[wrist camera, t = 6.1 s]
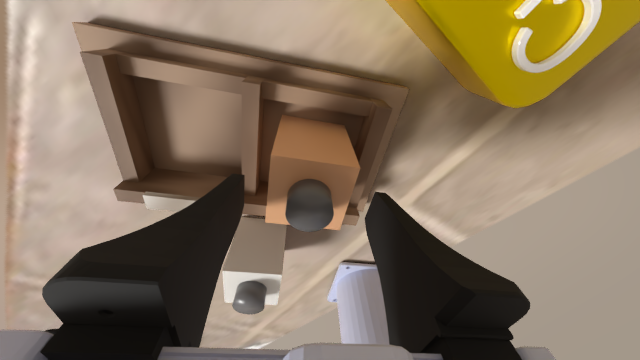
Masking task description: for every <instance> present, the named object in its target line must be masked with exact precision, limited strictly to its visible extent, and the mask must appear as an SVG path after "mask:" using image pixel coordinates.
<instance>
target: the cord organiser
mask: <svg viewBox="0 0 640 360" xmlns="http://www.w3.org/2000/svg"><path fill="white" fill-rule="evenodd" d="M72 24H73V27H74V30H75V33H76V36H77V39H78V42H79V45H80V48H81V51H82V52H80V54H81V57H82V60H83V62H84V65H85V68H86V71H87V74H88V77H89V80H90V83H91V86H92V89H93V92H94V95H95V98H96V101H97V104H98V107H99V110H100V113H101V116H102V119H103V122H104V125H105V128H106V130H107V133H108V136H109V139H110V142H111V145H112V148H113V151H114V154H115V157H116V160H117V163H118V166H119V169H120V172H121V175H122V178H123V181H122V182H121V183H120V184H119V185H118V186H116V187H115V188H114V192H115V194H116V197H117V200H118V201H125V202H135V203H145V205H146V209H153V210H163V211H172V212H179V211H180V210H182V209H184V208H186V207H187V206H189V205H191V204H192V203H194V202H195V201H197V200H198V199H200V198H201V197H203V196H204V195H205V194H207V193H208V192H209V191H211V190H212V189H213V188H215V187H216V186H217V185H219V184H220V183H221V182H222V181H224V180H225V179H226V178H227V177H229V176H230V175H231V174H241V175H245V189H244V208H243V212H242V214H250V215H260V216H266V206H267V195H268V183H269V171H270V159H271V153H272V149H273V145H274V142H275V138H276V135H277V131H278V127H279V124H280V120H281V117H282V115H287V116H293V117H298V118H304V119H310V120H316V121H322V122H327V123H333V124H339V125H344V126H345V128H346V131H347V133H348V136H349V139H350V141H351V144H352V147H353V149H354V152H355V155H356V157H357V160H358V163H359V165H360V171H359V174H358V177H357V180H356V183H355V186H354V189H353V192H352V195H351V198H350V201H349V204H348V207H347V210H346V213H345V216H344V219H343V222H342V224H347V225H356V224H357V221H358V219H359V213H358V211H363V210H364V207H365V204H366V202H367V199H368V197H369V194H370V191H371V189H372V186H373V184H374V181H375V178H376V176H377V173H378V171H379V168H380V165H381V163H382V160H383V157H384V155H385V152H386V150H387V147H388V144H389V142H390V139H391V137H392V134H393V131H394V129H395V126H396V123H397V121H398V118H399V116H400V113H401V110H402V108H403V105H404V103H405V100H406V97H407V95H408V92H409V90H410V89H408V88H407V87H405V86H401V85H396V84H391V83H386V82H381V81H376V80H371V79H366V78H361V77H356V76H351V75H346V74H341V73H336V72H331V71H326V70H321V69H316V68H311V67H306V66H301V65H296V64H291V63H286V62H281V61H276V60H271V59H266V58H261V57H256V56H251V55H246V54H241V53H236V52H231V51H226V50H221V49H216V48H211V47H206V46H201V45H196V44H191V43H186V42H181V41H176V40H171V39H166V38H161V37H156V36H151V35H146V34H141V33H136V32H131V31H126V30H121V29H116V28H111V27H106V26H101V25H96V24H91V23H84V22H72ZM265 218H266V217H265Z"/></svg>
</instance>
